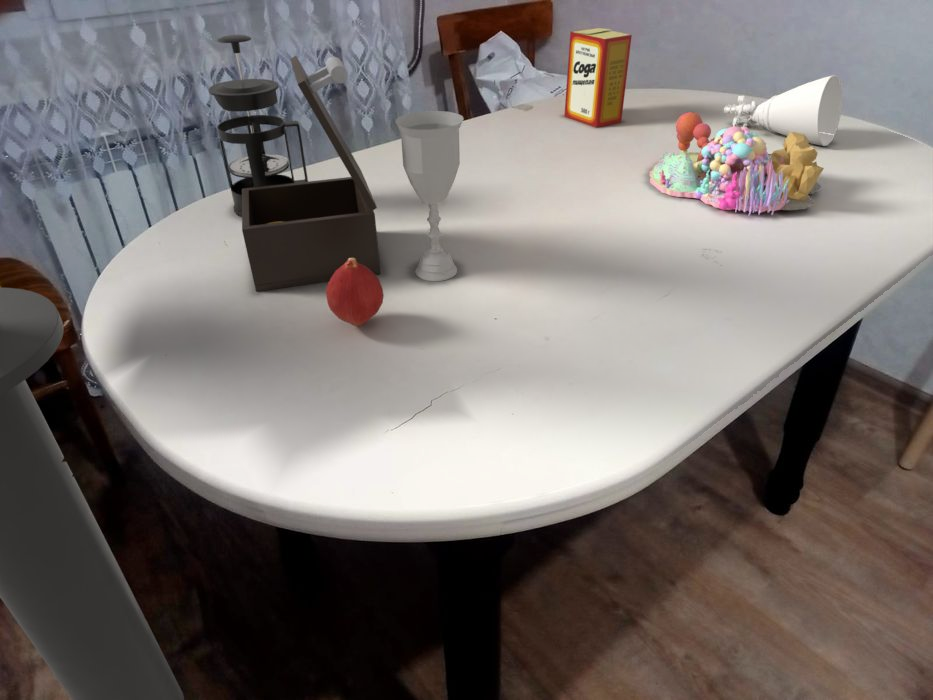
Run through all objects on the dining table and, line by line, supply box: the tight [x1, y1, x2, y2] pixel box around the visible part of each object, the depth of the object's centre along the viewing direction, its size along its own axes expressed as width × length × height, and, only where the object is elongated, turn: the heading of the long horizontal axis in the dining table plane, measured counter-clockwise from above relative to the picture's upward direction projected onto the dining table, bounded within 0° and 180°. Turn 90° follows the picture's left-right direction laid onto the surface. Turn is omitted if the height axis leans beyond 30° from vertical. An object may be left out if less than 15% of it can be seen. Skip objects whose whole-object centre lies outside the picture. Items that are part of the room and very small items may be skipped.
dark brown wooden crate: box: [241, 176, 381, 292], centre depth 80 cm, size 15×13×8 cm
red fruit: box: [325, 258, 385, 327], centre depth 68 cm, size 6×6×8 cm
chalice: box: [394, 110, 465, 282], centre depth 75 cm, size 7×7×18 cm
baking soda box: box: [564, 27, 632, 129], centre depth 127 cm, size 10×6×16 cm
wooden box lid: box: [290, 55, 378, 211], centre depth 75 cm, size 15×13×5 cm
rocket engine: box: [723, 74, 843, 147], centre depth 120 cm, size 12×12×18 cm
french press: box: [208, 34, 309, 218], centre depth 90 cm, size 12×9×23 cm
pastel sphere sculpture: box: [649, 111, 824, 217], centre depth 98 cm, size 25×24×9 cm
